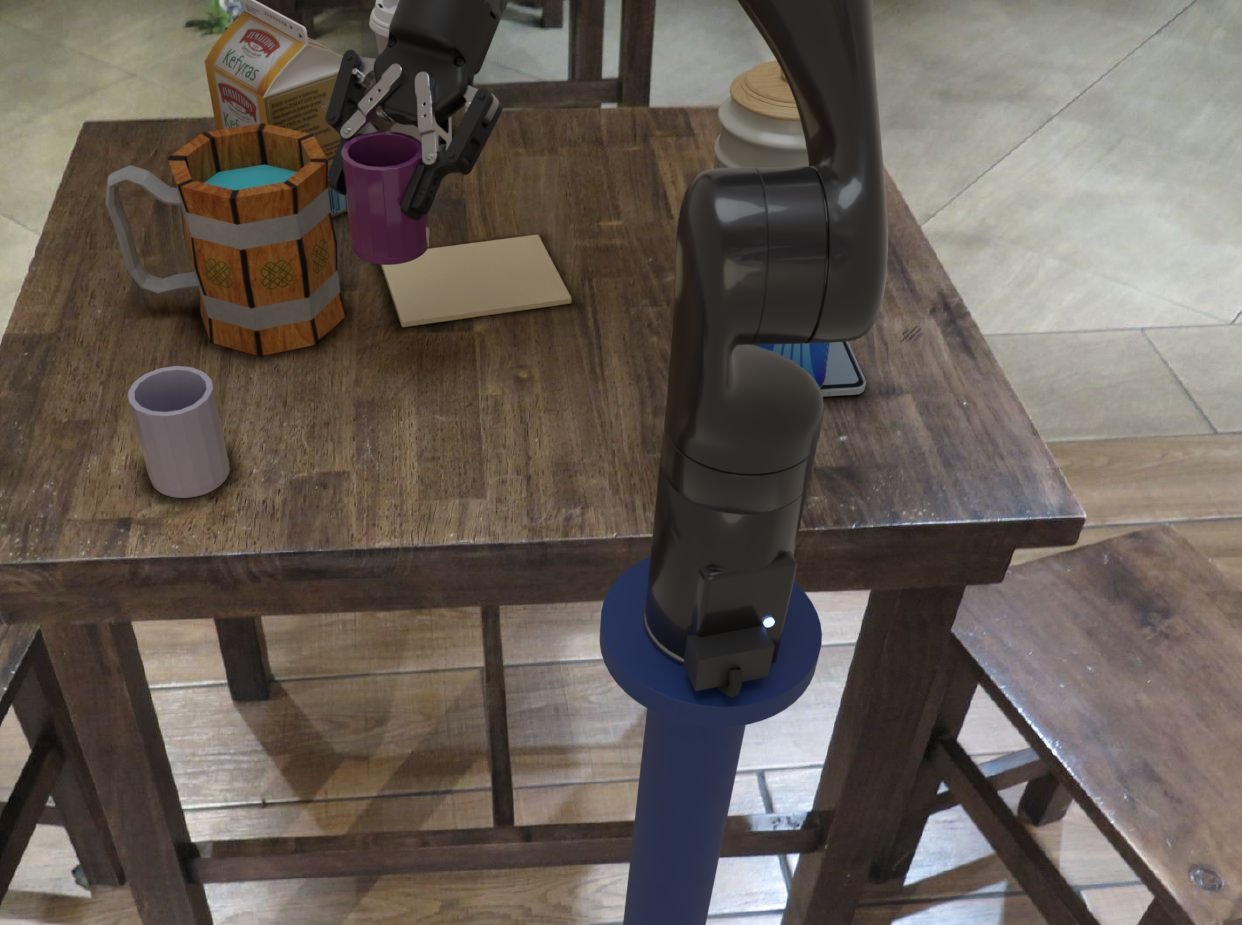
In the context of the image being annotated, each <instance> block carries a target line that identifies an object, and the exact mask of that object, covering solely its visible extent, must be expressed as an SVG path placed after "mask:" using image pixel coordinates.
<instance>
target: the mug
mask: <svg viewBox="0 0 1242 925" xmlns="http://www.w3.org/2000/svg"><path fill="white" fill-rule="evenodd" d="M167 161H168V164H169V167H170V170H171V173H172V176H173V180H174V182H175V185H176V187H171V186H170V185H168V184H167V183H165V182H164V181H163V180H161V179H160V178H159V177H158V176H156V175H155V174H154V173H152V172H151V171H150V170H147V169H144V168H141V167H138V166H136V165H132V164H130V165H127V166H125V167H123V168H121V169H118V170H116V171H114V172H111V173H110V174H108V176H107V181H106V191H105V192H106V193H105V201H104V204H105V207H106V210H107V213H108V215H109V218H110V220H111V224H112V226H113V228H114V231H115V234H116V238H117V242H118V246H119V250H120V254H121V256H122V259H123V261H124V265H125V267H126V271H127V273H128V274H129V275H130V276H131V278H132V279H133V280H134V281H135V283H136V284H137V286H139V288H140V289H142V290H145V291H148V292H150V293H154V294H156V295H159V296H160V295H164V294H168V293H169V294H170V293H173V292H178V291H185V290H192V289H197V288H198V302H199V313H200V316H201V319H202V323H203V325H204V328H205V330H206V333H207V336H208V339H209V342H210V343H211V344H214V345H218V346H221V347H225V348H229V349H232V350H236V351H239V352H243V353H245V354H249V355H253V356H257V357H263V356H268V355H272V354H273V355H274V354H279V353H283V352H287V351H293V350H298V349H303V348H307V347H312V346H316V345H318V344H319V343H320V342H321V341H322V340H323V339H325V337H326V336H327V335H328V334H329V333H330V332H331V331H332V330H333V329H334V328H336V326H337V325H338V324H339V323H340V322H341V321H342V320H343V319H344V318H346V316H347V314H346V309H345V304H344V301H343V297H342V294H341V286H340V277H339V267H338V265H339V264H338V263H339V262H338V240H337V236H336V231H335V226H334V222H333V217H331V212H330V203H329V195H328V160H327V158H326V156H325V154H324V153H323V151H322V149H321V147H320V145H319V144H318V142H317V140H316V138H315V137H314V135H313V134H310V133H305V132H300V131H296V130H291V129H287V128H282V127H278V126H273V125H268V124H264V123H260V124H254V125H247V126H241V127H235V128H228V129H222V130H216V129H215V130H210V131H204V132H203V131H202V132H201V133H200V134H199V135H197V136H196V137H195V138H194V139H192V140H190V141H189V142H188V143H186V144H185V145H183V146H182V147H180V148H179V149H178V150H176V151H175V152H174V153H172V154H171V155H169V156H168V157H167ZM127 182H128V183H131V184H133V185H136V186H138V187H141V188H142V189H144V190H145V191H146V192H147V193H149V194H150V195H151V196H152V197H153V198H154V199H155V200H158V201H159V202H161V203H163V204H164V205H171V206H178V207H180V209H181V218H182V227H183V236H184V241H185V244H186V247H187V251H188V254H189V256H190V259H191V262H192V267H193V270H194V271H189V272H182V273H176V274H173V275H170V276H167V277H164V278H161V277H159V276H156V275H154V274H150V273H149V272H148V270H147V269H146V267H145V266H144V265H143V263H142V262H141V260H140V258H139V254H138V250H137V247H136V243H135V239H134V235H133V231H132V226H131V223H130V221H129V218H128V216H127V214H126V211H125V209H124V206H123V204H122V201H121V199H120V185H122V184H124V183H127Z"/></svg>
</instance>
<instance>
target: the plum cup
mask: <svg viewBox="0 0 1242 925" xmlns="http://www.w3.org/2000/svg"><path fill="white" fill-rule="evenodd" d="M341 156H342V165H343V175H344V184H345V193H346V202H347V219H348V228H349V239H350V242H351V243H350V244H351V249H352V252H353V253H354V254H355V255H356V256H357V257H358V258H359V259H361V260H363V261H365V262H368V263H371V264H373V265H374V264H375V265H380V266H381V265H395V264H402V263H406V262H409V261H412V260H415V259H417V258H418V257H420V256H421V255H423V254H424V253H425V252H426V251H427V249H429V247H430V222H429V220H430V219H429V212H428V213H427V214H426V215H422V217H421V219H420V220H419V221H417V220H414V219H411V218H409V217H407V216H406V215H405V214H403V213H402V212H401V209H400V207H401V203H402V201H403V198H404V196H405V193H406V191H407V188H408V186H409V183H410V181H411V178H412V176H413V174H414V171H415V168H416V166H417V164H420V165H422V164H423V160H422V143H421V141H419V140H418V139H416V138H415V137H413V136H411V135H407V134H404V133H400V132H391V131H381V132H373V133H367V134H364V135H360V136H357V137H355V138H353V139H351V140H350V141H349V142H347V143H346V144H345V145H344V147H343V149H342V151H341Z"/></svg>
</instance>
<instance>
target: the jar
mask: <svg viewBox="0 0 1242 925" xmlns="http://www.w3.org/2000/svg"><path fill="white" fill-rule="evenodd" d="M729 94H730V95H729V96H728V97H726V98H725V99H724V100H723V101H722V102H721V103H720V105H719V107H718V109H717V118H718V120H719V123H720V125H721V130H720V133H719V135H718V136H717V137H716V138H715V140H714V142H713V152H714V161H713V168H712V169H716V168H742V167H751V168H753V167H791V166H809V162H808V154H807V148H806V143H805V137H804V133H803V128H802V124H801V120H800V116H799V113H798V109H797V106H796V103H795V100H794V97H793V94H792V92H791V89H790V87H789V85H788V82H787V80H786V78H785V76H784V74H783V72H782V70H781V68H780V66H779V64H778V62H777V60H771V61H765V62H762V63H759V64H757V65H755V66H754V67H752V68H751V69H749V70H746V71H744V72H742V73H740V74H738V75H737V76H735V78H734V79H732V81H731V83H730V86H729Z"/></svg>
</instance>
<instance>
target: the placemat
mask: <svg viewBox="0 0 1242 925" xmlns="http://www.w3.org/2000/svg"><path fill="white" fill-rule="evenodd" d="M380 267H381V270H382V272H383V275H384V279H385V282H386V284H387V287H388V291H389V293H390V297H391V299H392V303H393V305H394V308H395V311H396V315H397V317H398V320H399V323H400V326H401V328H407V327H415V326H420V325H429V324H435V323H443V322H450V321H456V320H463V319H471V318H476V317H477V318H479V317H484V316H490V315H491V316H492V315H499V314H506V313H507V314H508V313H514V312H521V311H527V310H533V309H541V308H548V307H556V306H563V305H570V304H572V295H571V294H570V292H569V290H568V288H567V287H566V285H565V283H564V281H563V279H562V277H561V275H560V273H559V271H558V269H557V268H556V266H555V264H554V262H553V260H552V258H551V256H550V255H549V253H548V250H547V248H546V246H545V244H544V243H543V242H542V239H541V237H540V235H539V234H531V235H524V236H517V237H516V236H515V237H507V238H500V239H494V240H493V239H492V240H486V241H478V242H471V243H461V244H455V245H447V246H439V247H431V248H428V249H427V251H426V252H425V253H424V254H423V255H421V256H420V257H418V258H417V259H415V260H412V261H409V262H406V263H402V264H395V265H381V264H380Z"/></svg>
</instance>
